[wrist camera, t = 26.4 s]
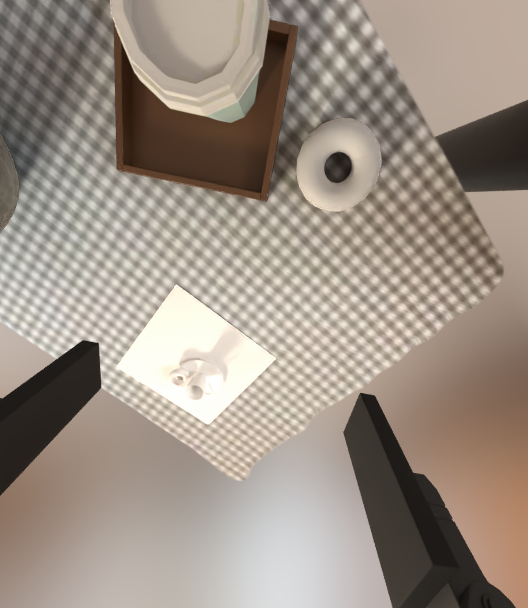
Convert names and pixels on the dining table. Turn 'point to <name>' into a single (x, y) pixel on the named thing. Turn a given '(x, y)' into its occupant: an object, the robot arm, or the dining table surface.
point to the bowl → (7, 184)
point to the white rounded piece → (194, 357)
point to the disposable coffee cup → (196, 51)
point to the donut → (356, 146)
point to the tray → (205, 128)
